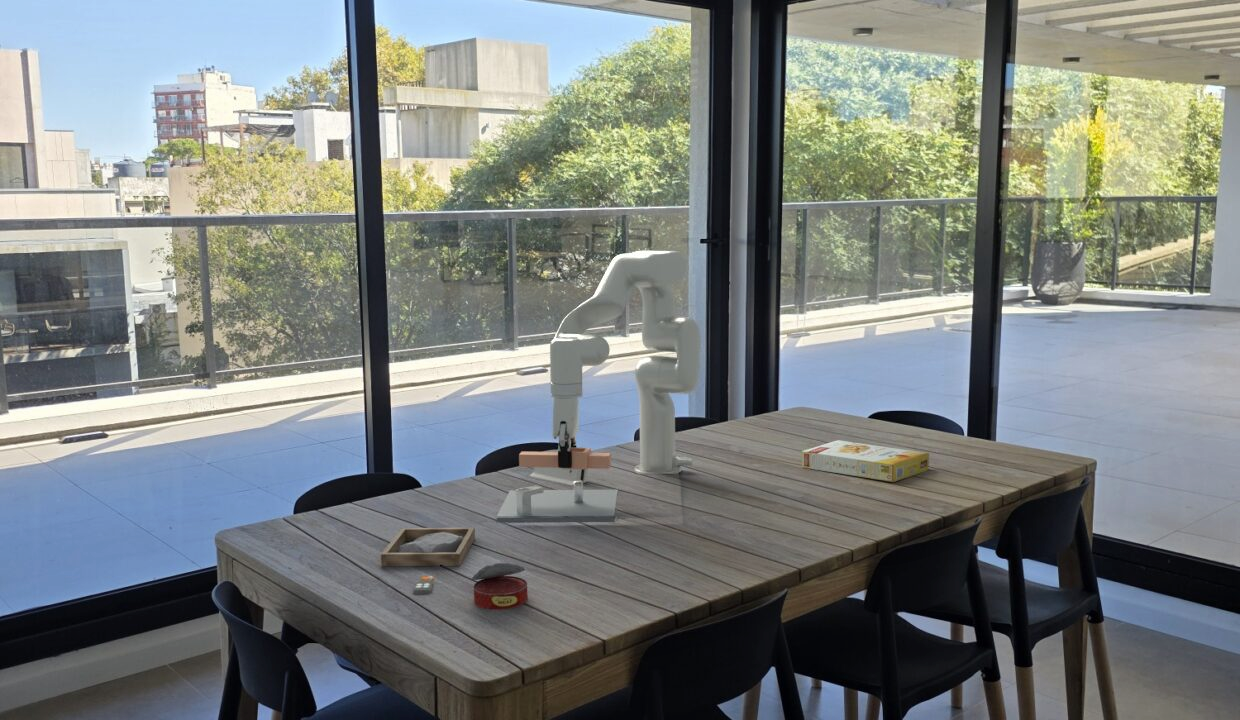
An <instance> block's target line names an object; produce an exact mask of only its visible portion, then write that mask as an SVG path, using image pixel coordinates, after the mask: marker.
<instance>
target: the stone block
mask: <svg viewBox="0 0 1240 720" xmlns="http://www.w3.org/2000/svg"><path fill="white" fill-rule="evenodd" d="M462 541H463V537H462V536H457V535H454V534H451V533H445V532H441V533H434V534H428V535H425V536H423V537H420V538H418V539H416V540H414V541H410V542H407V543H404V544H403V545H401V546H400V548H399V550H398V553H436V552H456V551H457V549H458V547H459V546H460V544H461V542H462Z"/></svg>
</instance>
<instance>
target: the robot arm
mask: <svg viewBox="0 0 1240 720" xmlns="http://www.w3.org/2000/svg"><path fill="white" fill-rule="evenodd" d="M688 261H689V260H688V259H687V257H686V255H685V254H684V253H683V252H681V251H678V250H652V249H651V250H646V249H645V250H644V249H643V250H636V251H632V252H630V253H619V254H617V255H616V256H614V257H613V258H612V260H611V261H610V263H609V265H608V267H607V269H606V271H605V273H604V274H603V275H602V276H603V277H602V279H601V280H600V282H599V285H597V287H596V290H595V291H594V294H593V295H592V297H590V298H589V299H586V301H584V302H582V303H581V304H579V306H577V307H576V308H575V309H573V310H572V311H570V312H568V314H567V315H566V316H565V317H564V318H563V320H562V321H561V323H560V325H559V327H558V329H557V331H556V333H555V336H554V337H553V339H551V341H550V343H549V361H550V362H549V363H550V366H549V367H550V368H549V369H550V371H549V372H550V397H551V398H553V405H552V406H553V407H552V408H553V409H552V439H553V440H557V439H558V446H557V447H558V448H557V450H558V467H559V468H571V467H572V451H570V448H571V447H577V438H576V437H577V436H576V435H577V434H578V432H579V422H580V421H579V420H580V419H579V418H580V417H579V415H580V414H579V410H580V409H579V398H580V397H581V398H582V396H583V367H586V366H587V367H597V366H600V365H602V364H603V363H605V362H606V361H607V359H608V357H609V355H610V349H611V348H610V344H609V342H608V341H607V339H605V338H604V337H603V336H601V335H597V334H587V333H586V334H585V332H586V331H587V330H589V329H591V328H592V327H595V326H597V325H600V324H602V323H605V322H608V321H612V320H614V319H616V318H618V317H620V316H621V315H622V314H623V313H624V311H625V309H626V307H627V305H628V303H629V301H630V299H631V297H632V295H633V293H634V292H635V289H637V288H638V290H639V292H640V295H641V298H642V319H641V320H642V321H641V323H642V325H641V339H642V340H641V341H642V344H643V346H644V348H646V349H648V350H650V351H654V352H655V351H656V352H666V353H667V352H669V353H676V356H675V357H674V356H665V355H664V356H663V355H650V356H644V357H642V358H640V359H639V361H638V362H637V363H636V366H635V369H634V375H635V376H634V377H635V383H636V388H637V393H638V394H637V395H638V401H639V403H638V407H639V462H640V463H639V464H637V465H635V467H634V472H635V473H636V474H637V475H643V474H644V475H652V474H653V475H658V474H659V475H660V474H663V475H664V474H665V475H666V474H670V475H671V474H677V473H678V474H679V472H680V473H681V472H682V466H686V467H687V466H689V467H690V466H693V458H688V457H679V456H677V452H676V416H675V415H676V414H675V413H676V411H675V409H676V408H675V405H674V401H673V399H672V396H671V395H670V394H680V395H689V394H692V393H693V392H695V390H696V389H697V387H698V385H699V380H700V367H701V366H700V365H701V343H702V342H701V339H702V338H701V330H700V326H699V325H698V323H697V321H696V320H695V319H693V318H691V317H688V316H679V315H678V316H677V315H676V314H675V295H674V292H673V290H672V288H671V286H674V285H678V284H680V283H682V282H683V281H684V280H685V278H686V277H687V275H688V271H689V262H688Z"/></svg>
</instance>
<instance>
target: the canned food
mask: <svg viewBox="0 0 1240 720" xmlns="http://www.w3.org/2000/svg"><path fill="white" fill-rule="evenodd" d="M525 570H526V569H525V567H524V566H521V565H518V564H513V563H508V562H499V563H494V564H492V565H486V566H484V567H481V569H479V570H478V572H477V573H475V574H474V575H473V576H472V577H471V580H472V581H477V580H478V581H477V582H475V583H474V584H473V603H474V604H475V605H476V606H477V607H478V608H481V609H485V610H495V611H496V610H497V611H499V610H508V609H513V608H518V607H519V606H523V605H524V604H526V603H527V602H528V582H527V581H526V579H524V578H522V577H518V576H513V575H516V574H519V573H523V572H524V571H525Z"/></svg>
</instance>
